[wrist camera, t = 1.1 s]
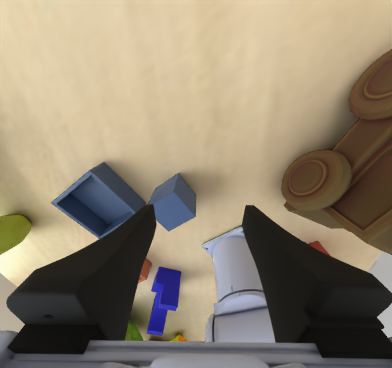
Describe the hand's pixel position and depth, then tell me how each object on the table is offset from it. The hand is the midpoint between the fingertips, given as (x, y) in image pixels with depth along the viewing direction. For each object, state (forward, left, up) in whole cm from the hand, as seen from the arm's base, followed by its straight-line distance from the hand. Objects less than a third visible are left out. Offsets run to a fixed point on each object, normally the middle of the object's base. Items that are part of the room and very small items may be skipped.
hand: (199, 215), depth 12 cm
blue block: (-1, +5, -10) cm, 11 cm away
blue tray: (+4, +14, -10) cm, 17 cm away
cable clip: (-18, +22, -10) cm, 30 cm away
